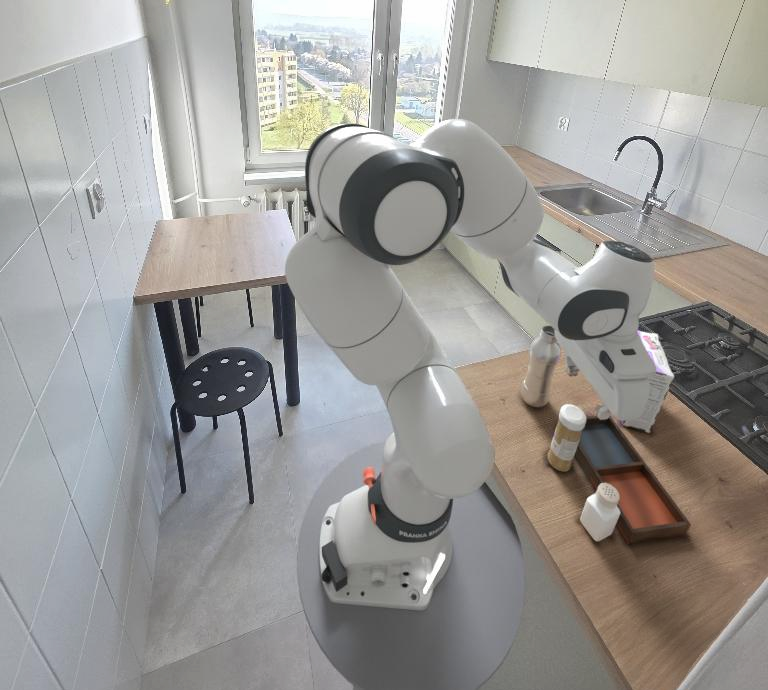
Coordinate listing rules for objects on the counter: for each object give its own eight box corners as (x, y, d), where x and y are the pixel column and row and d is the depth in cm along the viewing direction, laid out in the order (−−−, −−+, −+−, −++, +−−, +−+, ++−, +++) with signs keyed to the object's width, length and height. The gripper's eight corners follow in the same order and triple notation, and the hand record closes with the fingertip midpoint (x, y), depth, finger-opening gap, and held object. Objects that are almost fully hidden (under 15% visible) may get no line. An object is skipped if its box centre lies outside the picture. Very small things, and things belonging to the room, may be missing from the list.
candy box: (612, 380, 103) (630, 326, 97) (638, 387, 102) (659, 333, 95) (621, 425, 91) (642, 368, 85) (651, 434, 90) (675, 376, 83)
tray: (627, 543, 70) (632, 533, 69) (559, 428, 90) (562, 419, 89) (685, 535, 72) (691, 524, 70) (605, 424, 91) (609, 414, 90)
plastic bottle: (513, 398, 97) (528, 329, 89) (528, 383, 101) (544, 317, 93) (538, 416, 93) (557, 346, 85) (553, 400, 97) (572, 331, 89)
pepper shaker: (595, 544, 70) (610, 508, 66) (577, 520, 73) (590, 484, 69) (613, 534, 71) (628, 499, 67) (594, 511, 74) (607, 476, 71)
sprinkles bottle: (546, 448, 86) (559, 400, 80) (570, 454, 84) (585, 406, 79) (547, 468, 82) (561, 419, 76) (572, 476, 80) (588, 426, 75)
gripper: (553, 296, 78) (540, 353, 84) (626, 380, 60) (603, 447, 65) (584, 294, 79) (569, 351, 84) (665, 377, 60) (639, 442, 66)
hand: (585, 393), depth 75 cm, fingers open, 8 cm apart
